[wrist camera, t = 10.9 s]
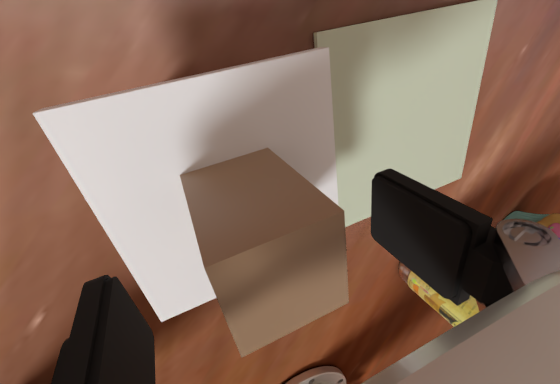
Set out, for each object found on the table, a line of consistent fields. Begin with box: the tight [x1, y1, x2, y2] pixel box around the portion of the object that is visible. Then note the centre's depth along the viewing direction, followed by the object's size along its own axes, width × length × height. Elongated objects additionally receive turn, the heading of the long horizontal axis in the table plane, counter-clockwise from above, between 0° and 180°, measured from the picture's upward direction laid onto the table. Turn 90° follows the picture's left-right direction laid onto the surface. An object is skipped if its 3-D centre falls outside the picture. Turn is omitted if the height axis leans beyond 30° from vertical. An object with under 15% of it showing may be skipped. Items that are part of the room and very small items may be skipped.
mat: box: [313, 0, 497, 227], centre depth 24 cm, size 16×16×1 cm
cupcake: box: [504, 211, 560, 239], centre depth 35 cm, size 9×8×12 cm
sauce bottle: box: [399, 262, 480, 327], centre depth 26 cm, size 7×6×20 cm
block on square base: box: [33, 47, 349, 357], centre depth 11 cm, size 11×11×7 cm
